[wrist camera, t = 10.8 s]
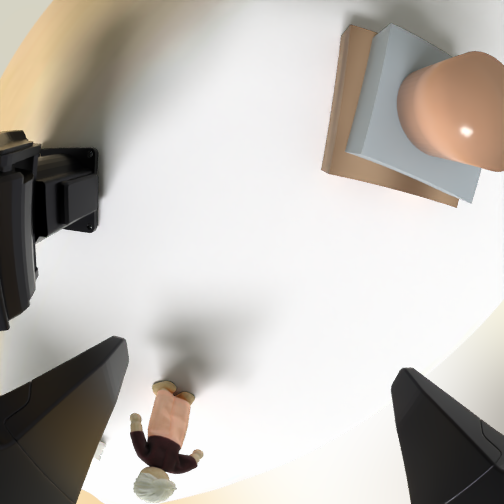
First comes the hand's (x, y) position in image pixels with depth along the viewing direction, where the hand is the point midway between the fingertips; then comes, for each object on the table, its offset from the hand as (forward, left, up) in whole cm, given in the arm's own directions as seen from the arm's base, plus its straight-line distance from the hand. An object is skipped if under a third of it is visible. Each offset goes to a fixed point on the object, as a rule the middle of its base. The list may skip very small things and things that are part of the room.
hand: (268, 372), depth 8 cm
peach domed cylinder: (+8, +10, -8) cm, 15 cm away
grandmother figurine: (-6, -18, -13) cm, 23 cm away
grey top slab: (+8, +10, -11) cm, 17 cm away
